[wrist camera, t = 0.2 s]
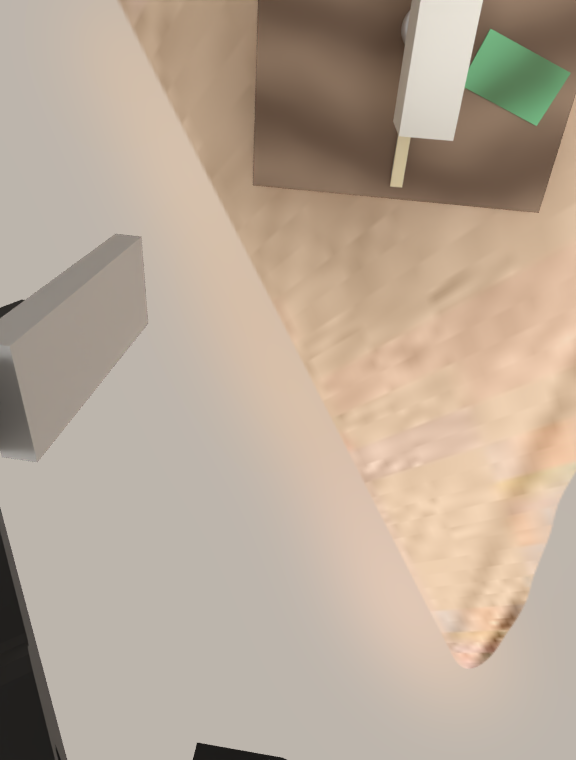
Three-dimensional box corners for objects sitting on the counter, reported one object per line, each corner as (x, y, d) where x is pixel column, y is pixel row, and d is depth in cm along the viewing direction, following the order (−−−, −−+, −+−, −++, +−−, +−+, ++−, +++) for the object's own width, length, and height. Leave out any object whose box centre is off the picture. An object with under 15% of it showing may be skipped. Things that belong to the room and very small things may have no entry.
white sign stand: (415, -70, 30) (443, -139, 19) (459, -68, 29) (511, -136, 19) (378, 183, 37) (382, 235, 26) (413, 186, 37) (431, 240, 26)
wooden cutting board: (270, -202, 29) (263, -219, 27) (648, -185, 28) (669, -203, 26) (257, 179, 40) (252, 185, 38) (530, 205, 38) (539, 213, 36)
